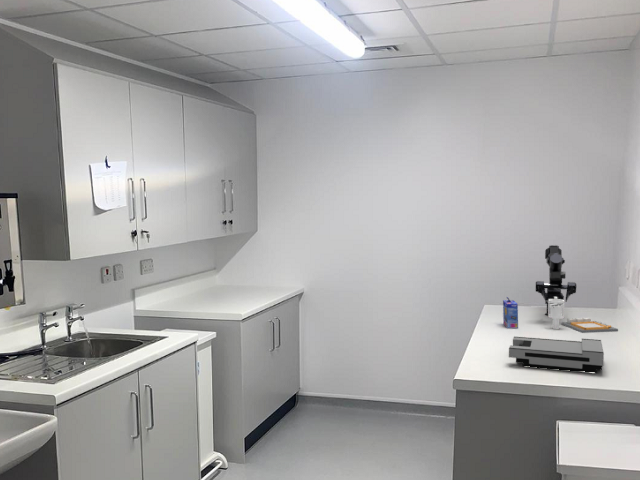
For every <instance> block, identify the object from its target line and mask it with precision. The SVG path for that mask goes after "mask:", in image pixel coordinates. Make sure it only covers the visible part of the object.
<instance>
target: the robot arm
mask: <svg viewBox="0 0 640 480" xmlns="http://www.w3.org/2000/svg"><path fill="white" fill-rule="evenodd" d="M544 252H545V253H544V258H545V259H546V261H545V263H546V265H548V267H549V268H548V269H549V270H548V271H549V273H548V274H549V275H548V276H549V277H548V278H549V283H545V281H544V280H543V281H542V280H540V281H539V280H537V281H535V292H537V293H539V294H540V295H541V296H542V297H543V299H544V302H545V303H544V304H545V305H546V313H545V314H544V315H545V316H548V300H549V299H554V297H557V299H562V300H564V301H565V302H566V303H567V301H568V300H569V298H570V297H571V295H574V294H576V293H577V283H576V282H573V281H572V282H571V281H568V282H567V284H563V279H566V271H562V267H563V265H564V264H565V262H566V260H565V259H564V257H563V256H562V255H563V254H562V249H561V248H560V246H559V245H556V244H555V245H549V246H548V247H547V248H546V249H545V251H544ZM562 290H566V291H565V296H564V294H563V293H562ZM550 304H554V303H550ZM562 304H563V303H562ZM562 304H557V305H555V306H558V305H562ZM552 306H554V305H552ZM553 308H554V307H553Z"/></svg>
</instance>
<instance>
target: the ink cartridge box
mask: <svg viewBox="0 0 640 480" xmlns="http://www.w3.org/2000/svg"><path fill="white" fill-rule="evenodd" d="M502 311H503V313H502V317H503V321H502V322H503V325H504V326H505V328H507V329H519V304H518V302H516V301H515V300H513V299H510V298H509V297H507V296H506V300H505V299H504V300H502Z"/></svg>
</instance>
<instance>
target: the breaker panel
mask: <svg viewBox="0 0 640 480" xmlns="http://www.w3.org/2000/svg"><path fill="white" fill-rule="evenodd" d="M591 319H592V318H590V317H578V318H577V317H576V318H566V322H565V321H564V322H561V325H562V326H564V327H566V328H569V329H572V330H574V331H577V332H580V333H584V334H585V333H604V332H606V333H607V332H619V328H616V327H613V326H612V325H608V324H607V323H602V322H601V321H596V320H594V321H593V320H591Z"/></svg>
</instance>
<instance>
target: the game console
mask: <svg viewBox="0 0 640 480" xmlns="http://www.w3.org/2000/svg"><path fill="white" fill-rule="evenodd" d="M604 355H605V353H604V348H603V342H602V339H592V338H591V339H589V338H581V341H577V340H566V339H565V340H564V339H550V338H540V337H525V336H524V337H523V336H513V338H512V345H509V348H508V358H513V359H515V363H520V364H521V363H522V367H523V366H530V367H537V368H536V369H540V368H547V369H546V370H550V369H559V370H558V371H561V370H570V371H569V372H571V371H585V372H596V373H597V371H602V370H603V366H604V359H605V358H604V357H605V356H604ZM530 367H529V368H530Z"/></svg>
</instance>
